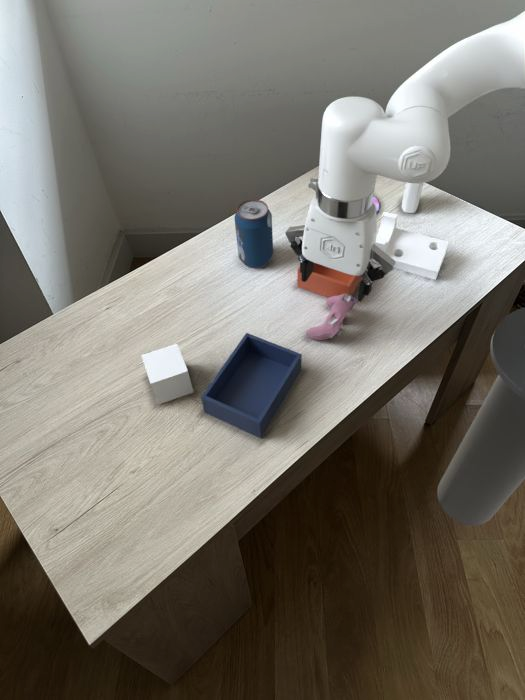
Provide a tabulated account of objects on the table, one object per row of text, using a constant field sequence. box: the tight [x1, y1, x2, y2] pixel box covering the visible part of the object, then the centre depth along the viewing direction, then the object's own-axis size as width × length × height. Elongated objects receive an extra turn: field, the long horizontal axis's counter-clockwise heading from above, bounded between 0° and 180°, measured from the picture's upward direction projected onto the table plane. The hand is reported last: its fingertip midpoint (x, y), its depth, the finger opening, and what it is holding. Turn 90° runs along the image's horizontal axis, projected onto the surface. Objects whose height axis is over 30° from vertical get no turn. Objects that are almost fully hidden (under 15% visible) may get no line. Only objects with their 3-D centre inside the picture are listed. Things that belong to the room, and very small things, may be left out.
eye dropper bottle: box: [401, 183, 424, 214], centre depth 107 cm, size 4×6×12 cm
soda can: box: [234, 199, 274, 269], centre depth 99 cm, size 7×7×12 cm
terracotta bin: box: [296, 263, 362, 299], centre depth 97 cm, size 10×9×5 cm
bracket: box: [371, 211, 450, 281], centre depth 99 cm, size 13×7×8 cm, turn 64°
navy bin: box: [200, 332, 303, 439], centre depth 83 cm, size 10×14×5 cm
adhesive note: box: [140, 343, 194, 406], centre depth 84 cm, size 6×6×6 cm
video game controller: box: [305, 294, 358, 341], centre depth 90 cm, size 10×5×7 cm, turn 151°
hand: (334, 285), depth 84 cm, fingers open, 9 cm apart
